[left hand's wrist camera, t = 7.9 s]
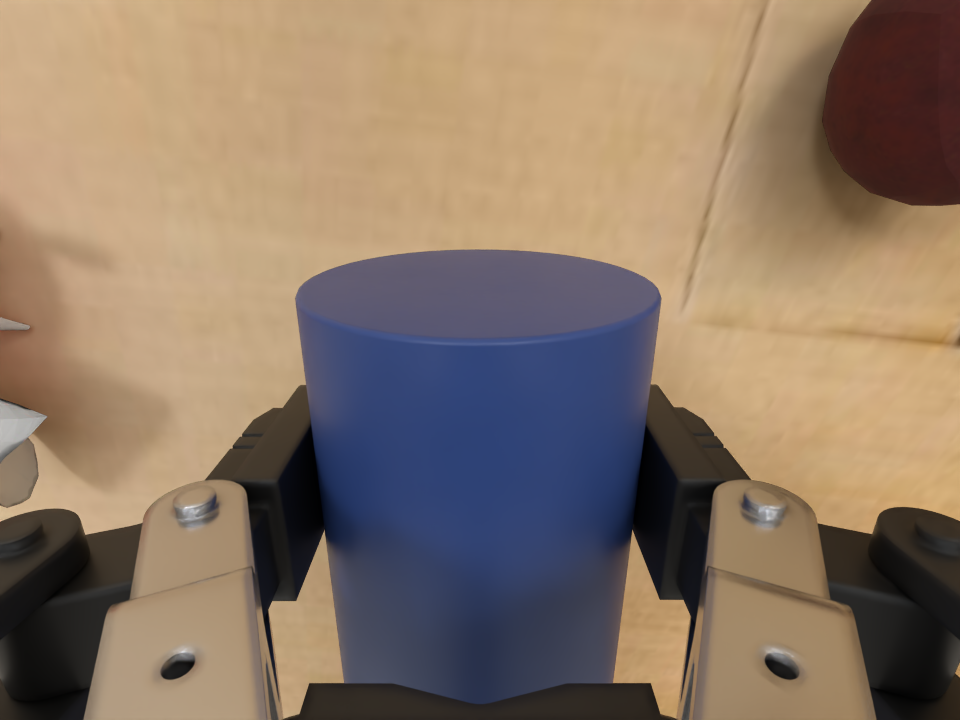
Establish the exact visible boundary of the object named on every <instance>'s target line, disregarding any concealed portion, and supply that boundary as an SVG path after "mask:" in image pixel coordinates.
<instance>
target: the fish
mask: <svg viewBox="0 0 960 720" xmlns="http://www.w3.org/2000/svg"><path fill="white" fill-rule="evenodd" d="M29 328H30V326H29V325H26V324H22V323H18V322H15V321H11V320H8V319H5V318H1V317H0V330H28V329H29ZM47 417H48V416H45V415H43V414H40V413H38V412H35V411H33V410H30V409H28V408H25V407H23V406H21V405H18V404H15V403H12V402H9V401H6V400H3V399H0V506H3V507H6V508H8V507H11V506H14V505H17V504H20V503H22V502H24V501H25V500H27V499H29V498H30V496H31V494H32V491H33V489H34V486H35V484H36V481H37V479H38V476H39V475H38V464H37V458H36V453H35V449H34V444H33V443H32V442H31V441H30V440H29V438H28V437H29V436H30V435H31V434H32V433H33V431H34V430H35V429H36V428H37V427H38V426H39V425H40V424H41V423H42V422H43V421H44V420H45V419H46V418H47Z"/></svg>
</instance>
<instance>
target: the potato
mask: <svg viewBox="0 0 960 720" xmlns="http://www.w3.org/2000/svg"><path fill="white" fill-rule="evenodd" d="M822 122H823V126H824V129H825V133H826V136H827V140H828V143H829V147H830V150H831V152H832V153H833V155H834V156H835V158H836V159H837V161H838V162H839V164H840V166H841V167H842V169H843V170H844V171H845V172H846V173H847V174H848V175H849V176H850V177H852V178H853V179H854V180H855V181H856V182H858V183H859V184H860V185H861V186H863V187H864V188H865V189H866V190H868V191H869V192H871V193H874V194H877V195H880V196H883V197H886V198H889V199H892V200H896V201H899V202H902V203H905V204H909V205H922V206H943V205H956V204H960V0H871V1H870V3H869V4H868V5H867V7H866V8H865V9H864V11H863V12H862V13H861V15H860V16H859V17H858V18H857V20H856V21H855V22H854V24H853V25H852V26H851V28H850V30H849V32H848V34H847V36H846V39H845V41H844V43H843V45H842V48H841V50H840V52H839V54H838V57H837V59H836V61H835V63H834V66H833V68H832V70H831V73H830V75H829V79H828V86H827V92H826V99H825V106H824V112H823V119H822Z"/></svg>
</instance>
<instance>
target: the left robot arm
mask: <svg viewBox="0 0 960 720" xmlns="http://www.w3.org/2000/svg"><path fill="white" fill-rule="evenodd" d="M324 529H325V528H324V520H323V512H322V504H321V497H320V489H319V481H318V473H317V465H316V457H315V450H314V442H313V434H312V426H311V418H310V410H309V403H308V395H307V387H306V385H300V386H299V387H298V388H297V389H296V391H295V392H294V393H293V395H292V396H291V398H290V399H289V400H288V402H287V403H286V404H285V406H284V407H283V408H273V409H271V410H269V411H268V412H266V413H264V414H263V415H261V416H259V417H258V418H256V419H254V420H253V421H252V423H251V424H250V425H249V426H248V428H247V429H246V430H245V431H244V432H243V434H242V437H239V439H238V440H237V441H236V442H235V444H234V445H233V449H230V450H229V451H228V452H227V454H226V455H225V456H224V457H223V458H222V460H221V461H220V462H219V463H218V465H217V466H216V467H215V468H214V470H213V471H212V472H211V473H210V475H209V476H208V477H207V478H206V480H205V481H200V482H195V483H191V484H188V485H185V486H182V487H179V488H177V489H175V490H173V491H171V492H169V493H167V494H165V495H164V496H162V497H161V498H159V499H158V500H157V501H155V502H154V503H153V504H152V505H151V506H150V507H149V508H148V510H147V511H146V513H145V515H144V518H143V523H141V524H138V525H133V526H129V527H124V528H119V529H114V530H108V531H103V532H98V533H93V534H88V535H85V533H84V530H83V527H82V524H81V521H80V518H79V516H78V515H77V514H76V513H74V512H72V511H70V510H65V509H44V510H37V511H32V512H28V513H24V514H21V515H17V516H14V517H11V518H9V519H6V520H3V521H1V522H0V720H960V677H958V676H957V675H956V674H955V672H956V670H957V668H958V665H959V663H960V521H958V520H956V519H953V518H951V517H948V516H945V515H942V514H939V513H936V512H932V511H928V510H924V509H918V508H910V507H895V508H890V509H887V510H884V511H883V512H881V513H880V514H879V516H878V518H877V521H876V525H875V528H874V531H873V534H868V533H863V532H858V531H852V530H847V529H842V528H837V527H832V526H827V525H822V524H818V523H817V518H816V515H815V513H814V511H813V510H812V508H811V507H810V506H809V505H808V504H807V503H806V502H805V501H803V500H802V499H801V498H799V497H798V496H796V495H795V494H793V493H791V492H789V491H787V490H785V489H783V488H781V487H778V486H775V485H772V484H769V483H765V482H760V481H754V480H751V479H750V478H749V476H748V475H747V474H746V473H745V471H744V470H743V469H742V468H741V466H740V465H739V464H738V463H737V461H736V460H735V459H734V458H733V456H732V455H731V454H730V453H729V451H728V450H727V449H726V448H724V447H723V444H722V443H721V441H720V440H719V439H718V438H717V436H714V433H713V431H712V430H711V429H710V428H709V426H708V425H707V424H706V422H705V421H704V420H703V419H702V418H700V417H698V416H697V415H695V414H693V413H692V412H690V411H688V410H687V409H685V408H683V407H673V406H672V404H671V403H670V402H669V400H668V399H667V397H666V396H665V395H664V393H663V392H662V390H661V389H660V388H659V386H658V385H650V393H649V401H648V408H647V416H646V424H645V432H644V440H643V448H642V456H641V464H640V472H639V480H638V488H637V496H636V503H635V511H634V519H633V527H632V529H633V532H634V534H635V537H636V540H637V542H638V545H639V547H640V550H641V552H642V555H643V558H644V560H645V563H646V565H647V568H648V570H649V573H650V575H651V578H652V581H653V583H654V586H655V588H656V591H657V593H658V596H659V599H660V600H684V602H685V604H686V606H687V609H688V611H689V613H690V615H691V617H690V622H689V627H688V634H687V642H686V650H685V657H684V665H683V673H682V680H681V688H680V696H679V703H678V711H677V719H675V718H672V717H669V716H665V715H662V714H660V712H659V708H658V705H657V702H656V699H655V696H654V692H653V689H652V686H651V683H566V684H562V685H558V686H554V687H550V688H547V689H543V690H539V691H535V692H531V693H527V694H523V695H519V696H515V697H511V698H507V699H503V700H500V701H496V702H492V703H487V704H473V703H468V702H464V701H460V700H457V699H453V698H449V697H445V696H441V695H437V694H433V693H429V692H425V691H421V690H417V689H413V688H410V687H406V686H402V685H398V684H394V683H309V686H308V689H307V692H306V696H305V699H304V702H303V705H302V708H301V712H300V714H298V715H295V716H291V717H288V718H285V719H283V711H282V703H281V696H280V688H279V680H278V673H277V665H276V657H275V650H274V642H273V634H272V627H271V622H270V617H269V611H268V609H269V607H270V605H271V602H272V601H296V600H297V597H298V595H299V592H300V590H301V587H302V585H303V582H304V580H305V577H306V575H307V572H308V570H309V567H310V565H311V562H312V560H313V557H314V555H315V552H316V550H317V547H318V545H319V542H320V540H321V537H322V534H323V532H324Z"/></svg>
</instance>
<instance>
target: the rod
mask: <svg viewBox="0 0 960 720" xmlns="http://www.w3.org/2000/svg"><path fill="white" fill-rule="evenodd" d="M295 300H296V308H297V316H298V324H299V332H300V340H301V348H302V355H303V363H304V371H305V379H306V387H307V395H308V403H309V410H310V418H311V426H312V434H313V442H314V450H315V457H316V465H317V473H318V481H319V489H320V497H321V504H322V512H323V520H324V528H325V536H326V544H327V552H328V559H329V567H330V575H331V583H332V591H333V599H334V606H335V614H336V622H337V630H338V638H339V646H340V653H341V661H342V669H343V677H344V683H394V684H398V685H402V686H406V687H410V688H413V689H417V690H421V691H425V692H429V693H433V694H437V695H441V696H445V697H449V698H453V699H457V700H460V701H464V702H468V703H473V704H487V703H492V702H496V701H500V700H503V699H507V698H511V697H515V696H519V695H523V694H527V693H531V692H535V691H539V690H543V689H547V688H550V687H554V686H558V685H562V684H566V683H613V678H614V670H615V662H616V654H617V646H618V638H619V630H620V622H621V614H622V606H623V598H624V591H625V583H626V575H627V567H628V559H629V551H630V543H631V535H632V527H633V519H634V511H635V503H636V496H637V488H638V480H639V472H640V464H641V456H642V448H643V440H644V432H645V424H646V416H647V408H648V401H649V393H650V385H651V377H652V369H653V361H654V353H655V345H656V337H657V329H658V321H659V313H660V306H661V296H660V293H659V290H658V288H657V287H656V286H655V285H654V284H653V283H652V282H651V281H649V280H648V279H646V278H645V277H643V276H641V275H639V274H637V273H634V272H632V271H629V270H627V269H624V268H621V267H618V266H615V265H611V264H608V263H604V262H599V261H595V260H590V259H585V258H580V257H573V256H567V255H559V254H551V253H541V252H529V251H513V250H444V251H427V252H416V253H406V254H398V255H390V256H384V257H377V258H372V259H367V260H362V261H357V262H353V263H349V264H346V265H342V266H339V267H336V268H333V269H330V270H327V271H325V272H322V273H320V274H318V275H316V276H314V277H312V278H311V279H309V280H308V281H306V282H305V283H304V284H303V285H302V286H301V287H300V288H299V290H298V292H297V295H296V298H295Z"/></svg>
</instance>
